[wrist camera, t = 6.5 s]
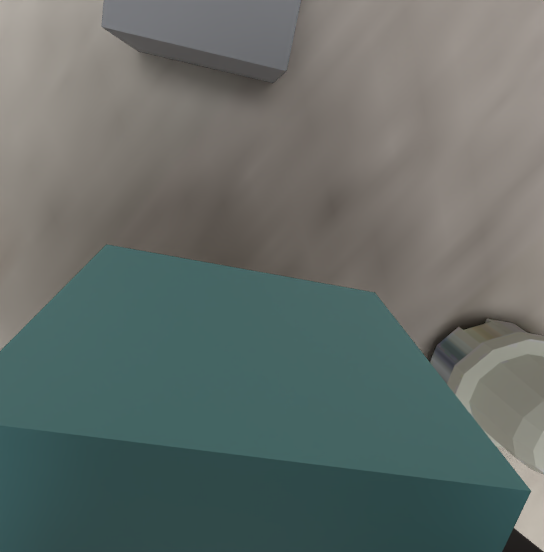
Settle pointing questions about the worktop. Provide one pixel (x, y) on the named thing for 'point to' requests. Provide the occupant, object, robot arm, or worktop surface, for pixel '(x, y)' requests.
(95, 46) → the worktop surface
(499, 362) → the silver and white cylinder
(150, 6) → the charcoal block
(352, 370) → the teal block
